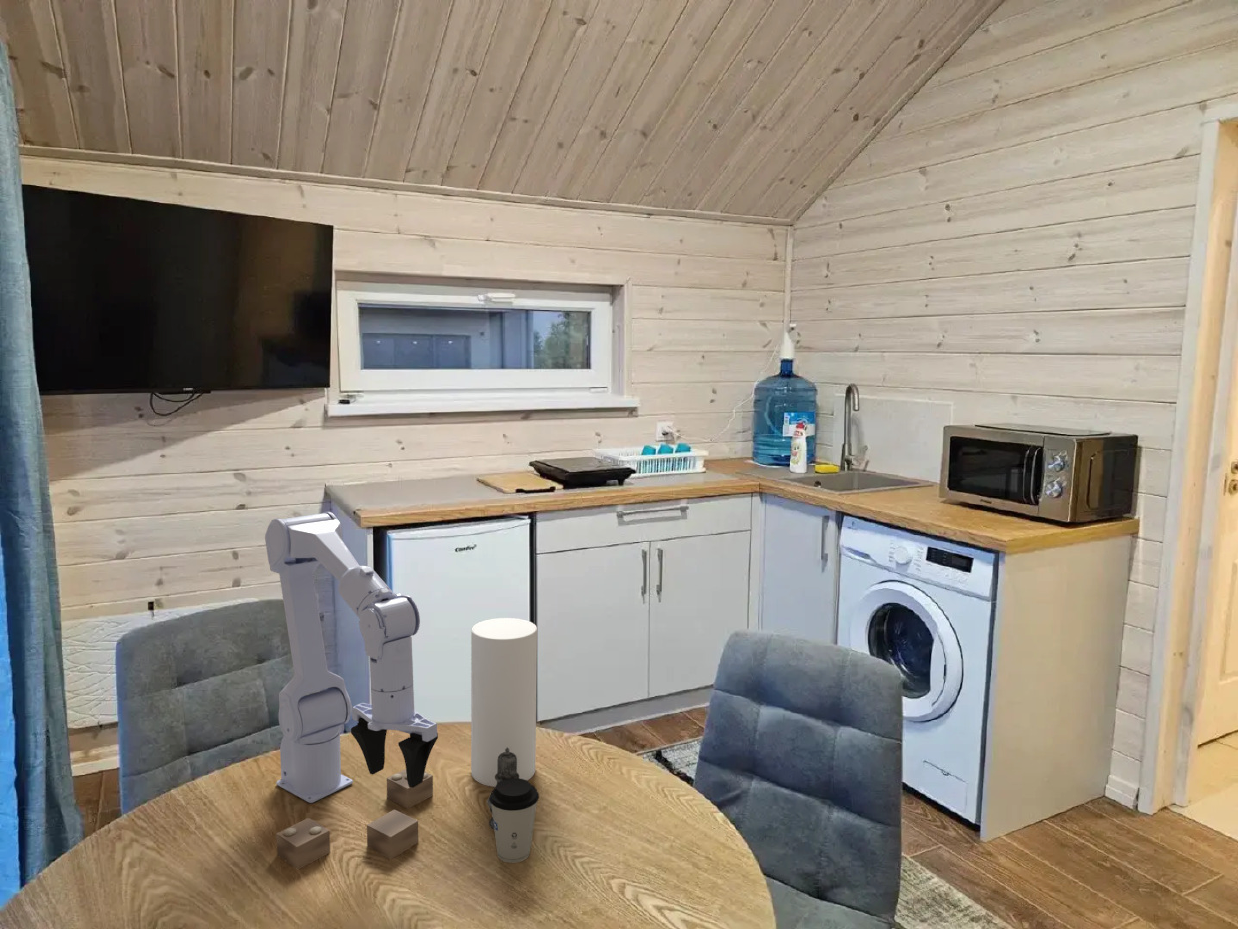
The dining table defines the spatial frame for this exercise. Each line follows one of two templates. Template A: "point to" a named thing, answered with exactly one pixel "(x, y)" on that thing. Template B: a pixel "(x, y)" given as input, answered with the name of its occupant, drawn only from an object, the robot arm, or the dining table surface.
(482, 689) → the tall pillar cylinder
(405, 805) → the three-dot block
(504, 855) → the coffee cup
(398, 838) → the plain block
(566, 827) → the dining table surface
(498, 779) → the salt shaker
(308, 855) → the two-dot block
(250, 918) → the dining table surface
